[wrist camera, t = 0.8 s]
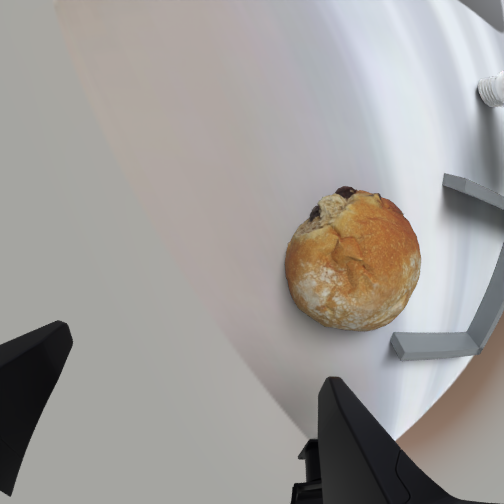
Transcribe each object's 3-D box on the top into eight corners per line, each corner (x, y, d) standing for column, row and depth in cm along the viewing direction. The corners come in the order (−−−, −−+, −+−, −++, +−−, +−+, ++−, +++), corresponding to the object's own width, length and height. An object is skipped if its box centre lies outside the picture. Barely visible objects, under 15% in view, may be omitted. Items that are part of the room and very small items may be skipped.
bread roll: (280, 271, 25) (281, 353, 19) (287, 171, 17) (295, 265, 12) (381, 271, 24) (400, 347, 19) (418, 181, 17) (468, 265, 11)
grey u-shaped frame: (467, 339, 22) (479, 354, 20) (390, 340, 23) (400, 360, 20) (517, 207, 16) (536, 215, 14) (444, 173, 17) (466, 178, 14)
